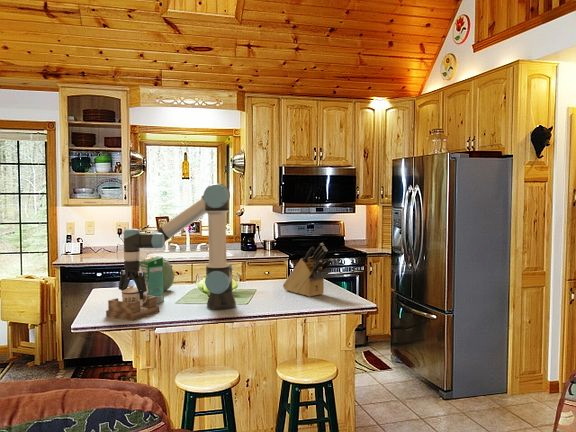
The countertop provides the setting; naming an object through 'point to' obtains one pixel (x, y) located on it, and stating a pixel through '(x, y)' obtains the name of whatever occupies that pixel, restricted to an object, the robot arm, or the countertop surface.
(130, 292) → the teacup with lid
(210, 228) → the robot arm
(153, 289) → the milk carton
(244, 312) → the countertop surface
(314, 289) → the knife block
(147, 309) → the walnut cup stand
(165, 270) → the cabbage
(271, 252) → the countertop surface
